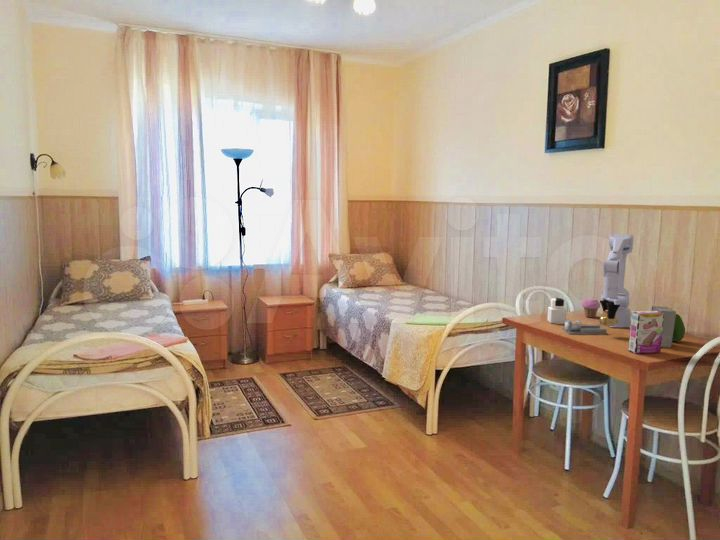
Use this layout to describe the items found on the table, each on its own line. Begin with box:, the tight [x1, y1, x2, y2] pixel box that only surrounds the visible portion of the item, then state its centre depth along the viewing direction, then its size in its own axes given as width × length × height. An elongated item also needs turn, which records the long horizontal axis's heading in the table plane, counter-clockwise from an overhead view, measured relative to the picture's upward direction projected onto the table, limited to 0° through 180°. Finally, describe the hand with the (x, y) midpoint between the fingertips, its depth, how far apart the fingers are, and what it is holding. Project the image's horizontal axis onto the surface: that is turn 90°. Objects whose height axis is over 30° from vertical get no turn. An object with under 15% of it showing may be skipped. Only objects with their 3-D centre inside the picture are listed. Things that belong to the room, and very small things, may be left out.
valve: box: [599, 309, 618, 327], centre depth 242 cm, size 7×4×7 cm, turn 90°
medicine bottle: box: [546, 297, 567, 325], centre depth 268 cm, size 7×7×12 cm
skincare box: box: [650, 305, 677, 348], centre depth 227 cm, size 8×7×16 cm
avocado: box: [672, 313, 686, 343], centre depth 233 cm, size 8×8×12 cm
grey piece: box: [561, 318, 608, 335], centre depth 250 cm, size 17×10×5 cm, turn 90°
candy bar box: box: [628, 310, 664, 355], centre depth 216 cm, size 11×5×16 cm, turn 99°
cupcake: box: [581, 297, 601, 318], centre depth 281 cm, size 9×9×10 cm
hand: (608, 317), depth 242 cm, fingers closed on valve, 4 cm apart
